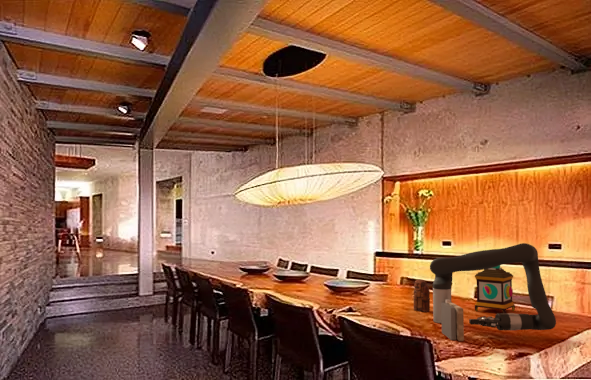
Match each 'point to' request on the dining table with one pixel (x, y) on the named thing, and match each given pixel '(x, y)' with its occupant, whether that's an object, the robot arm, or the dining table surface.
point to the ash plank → (458, 321)
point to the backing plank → (448, 320)
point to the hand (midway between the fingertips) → (469, 321)
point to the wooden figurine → (421, 296)
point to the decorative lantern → (494, 289)
